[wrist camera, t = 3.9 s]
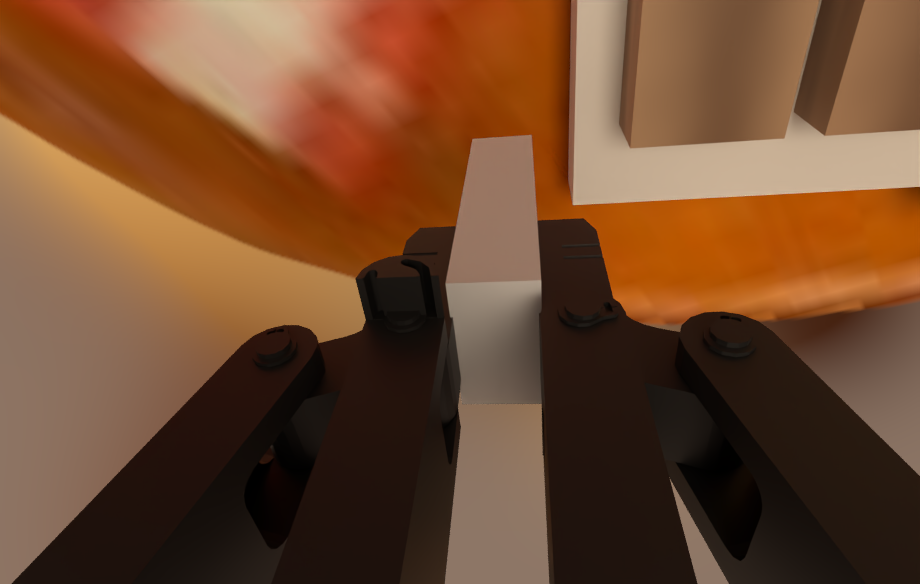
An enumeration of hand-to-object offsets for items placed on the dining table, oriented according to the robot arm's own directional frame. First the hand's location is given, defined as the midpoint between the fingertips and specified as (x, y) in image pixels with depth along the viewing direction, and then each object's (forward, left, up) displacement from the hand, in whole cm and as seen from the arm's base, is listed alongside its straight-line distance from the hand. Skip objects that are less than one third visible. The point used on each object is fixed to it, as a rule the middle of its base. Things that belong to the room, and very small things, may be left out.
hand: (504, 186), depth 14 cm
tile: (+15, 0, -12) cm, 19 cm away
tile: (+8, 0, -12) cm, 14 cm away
